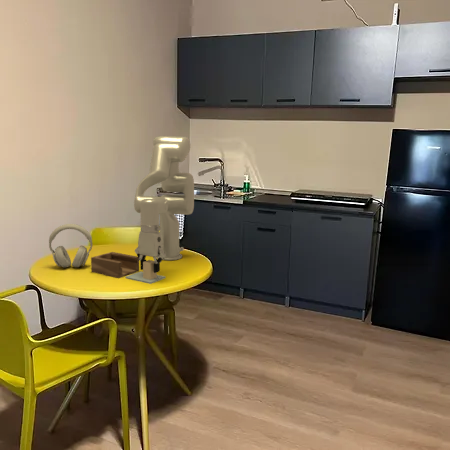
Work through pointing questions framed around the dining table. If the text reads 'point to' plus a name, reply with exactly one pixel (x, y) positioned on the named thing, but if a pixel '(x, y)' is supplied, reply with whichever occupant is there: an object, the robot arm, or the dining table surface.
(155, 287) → the dining table surface
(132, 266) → the walnut box
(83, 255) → the headphones
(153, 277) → the cover plate
